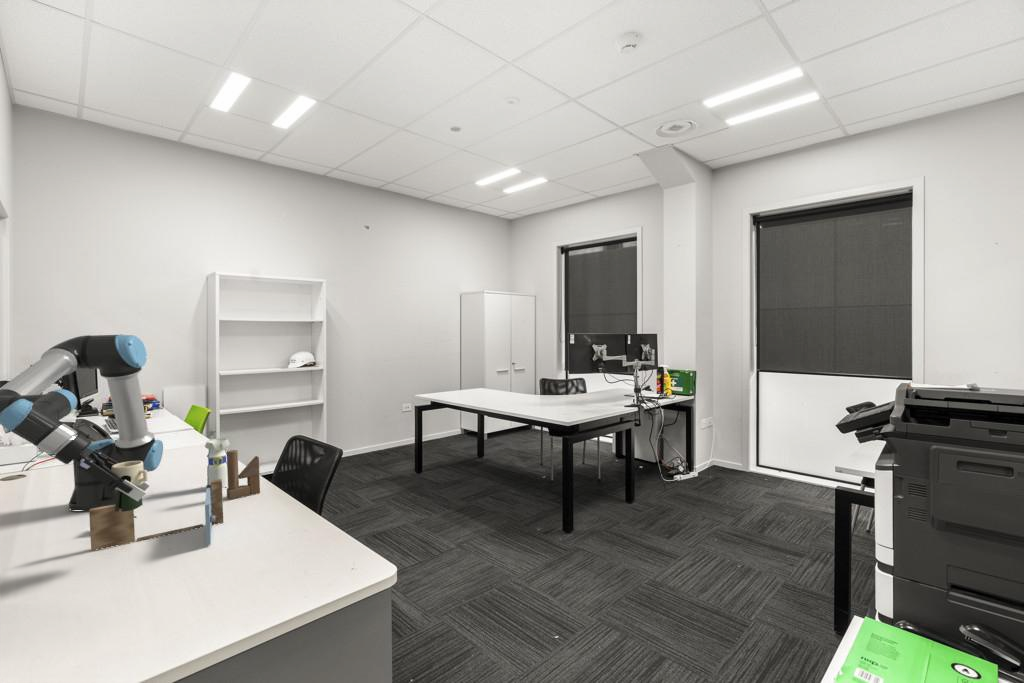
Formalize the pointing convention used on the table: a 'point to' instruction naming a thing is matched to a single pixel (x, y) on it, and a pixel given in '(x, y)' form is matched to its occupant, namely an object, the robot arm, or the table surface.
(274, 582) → the table surface
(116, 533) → the door frame
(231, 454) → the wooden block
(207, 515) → the door
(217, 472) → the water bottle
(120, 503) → the character mug
